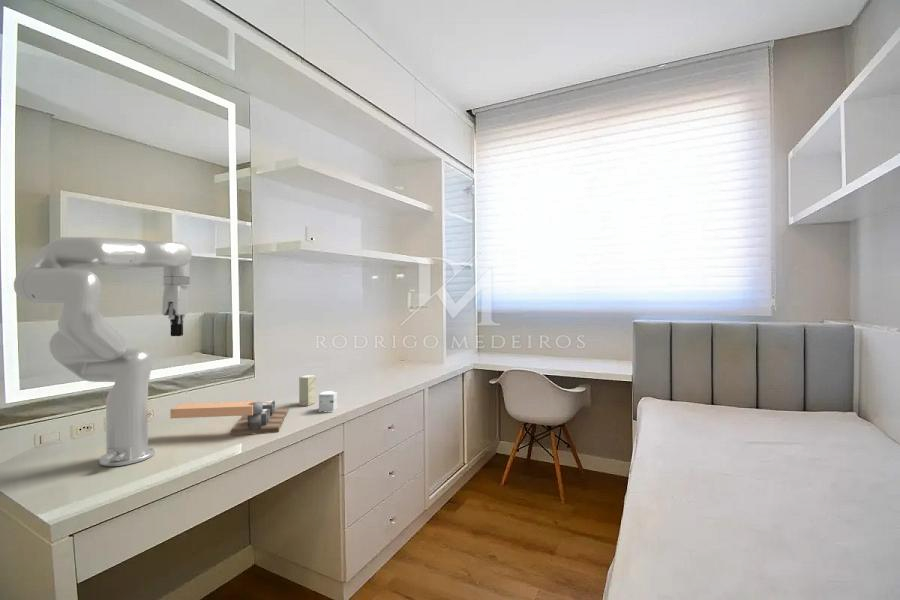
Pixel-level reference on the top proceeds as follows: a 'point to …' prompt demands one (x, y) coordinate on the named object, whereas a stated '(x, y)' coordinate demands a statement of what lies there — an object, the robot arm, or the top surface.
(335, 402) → the skincare box
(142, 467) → the top surface
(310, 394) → the skincare box
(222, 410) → the swing arm
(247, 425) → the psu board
